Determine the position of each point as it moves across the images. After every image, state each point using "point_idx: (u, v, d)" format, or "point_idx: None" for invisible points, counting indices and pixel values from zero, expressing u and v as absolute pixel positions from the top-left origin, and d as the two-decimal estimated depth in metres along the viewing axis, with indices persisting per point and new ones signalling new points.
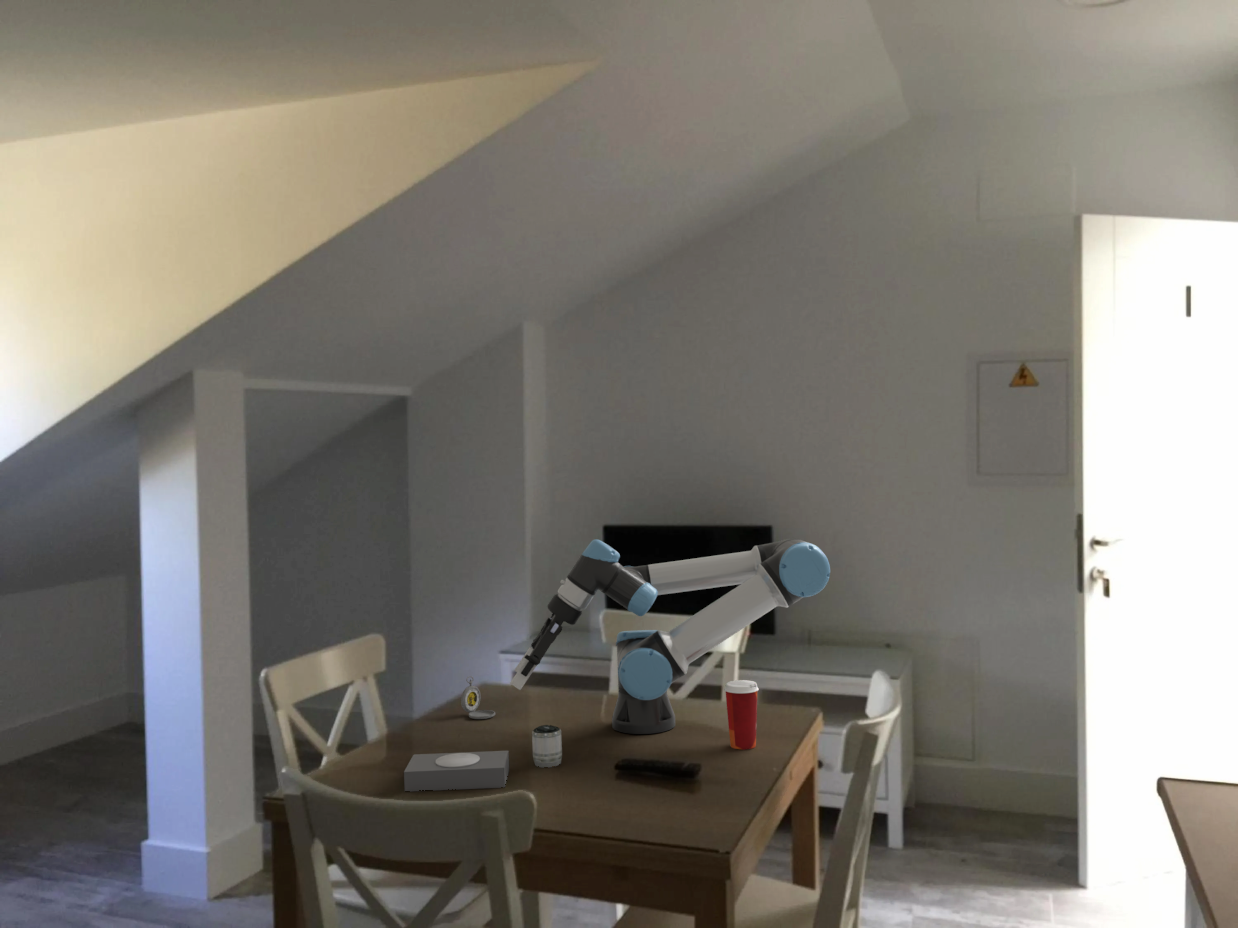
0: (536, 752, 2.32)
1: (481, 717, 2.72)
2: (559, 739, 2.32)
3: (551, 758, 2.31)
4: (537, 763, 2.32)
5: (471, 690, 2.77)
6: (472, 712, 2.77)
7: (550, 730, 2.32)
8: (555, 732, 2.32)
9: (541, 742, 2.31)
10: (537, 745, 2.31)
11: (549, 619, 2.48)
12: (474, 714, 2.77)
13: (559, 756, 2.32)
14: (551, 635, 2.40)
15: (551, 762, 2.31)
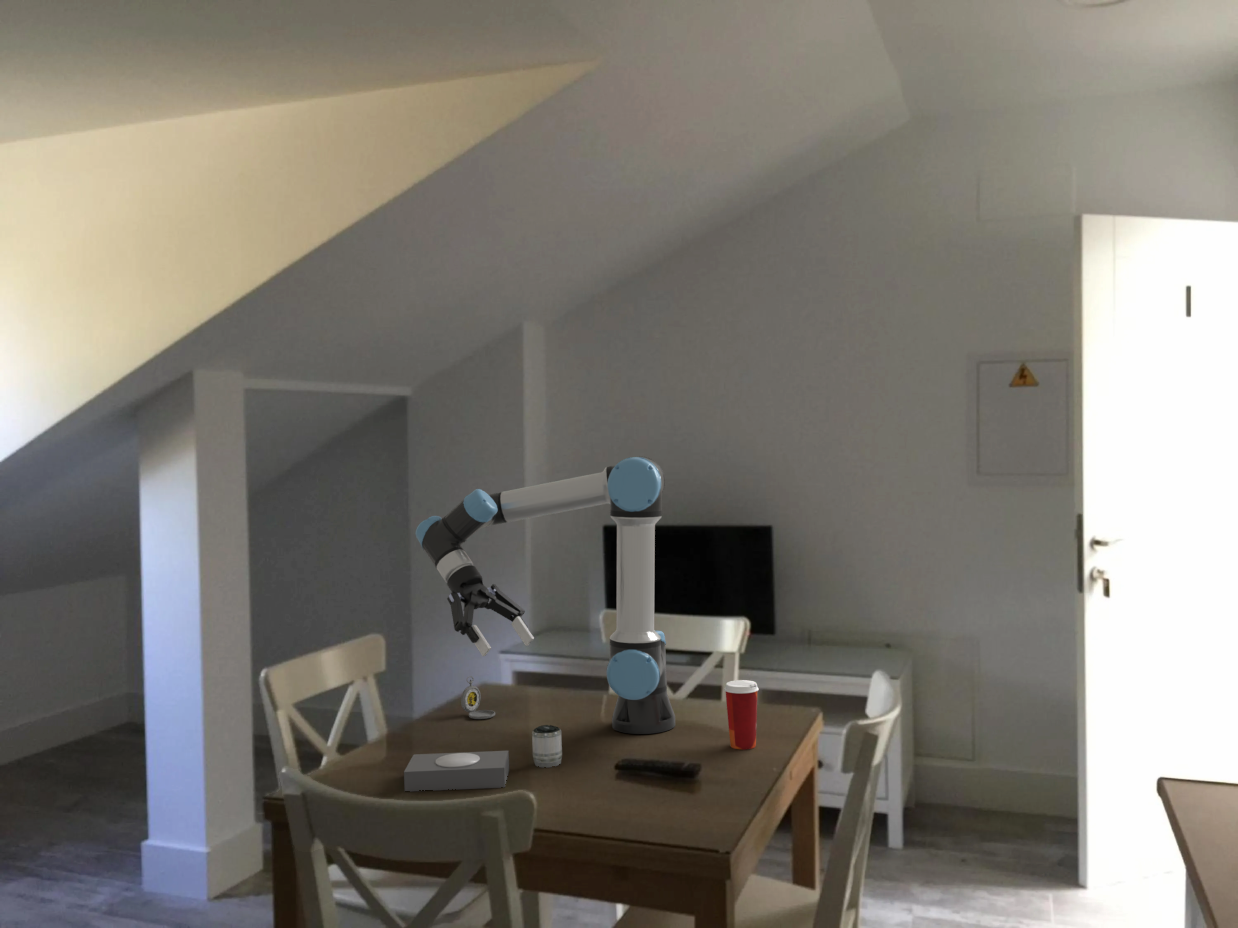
0: (536, 752, 2.32)
1: (481, 717, 2.72)
2: (559, 739, 2.32)
3: (551, 758, 2.31)
4: (537, 763, 2.32)
5: (471, 690, 2.77)
6: (472, 712, 2.77)
7: (550, 730, 2.32)
8: (555, 732, 2.32)
9: (541, 742, 2.31)
10: (537, 745, 2.31)
11: None
12: (474, 714, 2.77)
13: (559, 756, 2.32)
14: (454, 602, 2.40)
15: (551, 762, 2.31)
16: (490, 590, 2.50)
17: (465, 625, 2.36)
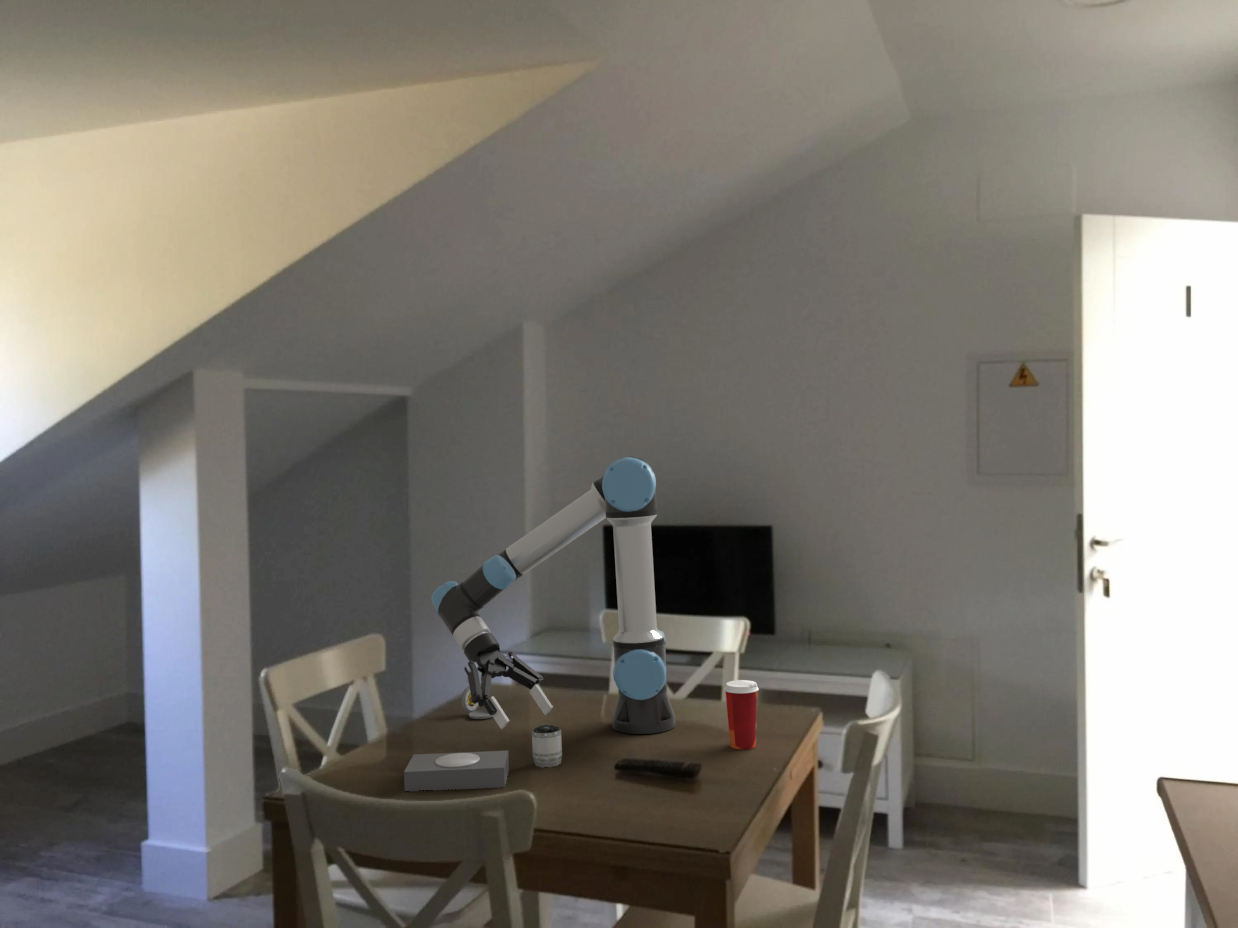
0: (536, 752, 2.32)
1: (481, 717, 2.72)
2: (559, 739, 2.32)
3: (551, 758, 2.31)
4: (537, 763, 2.32)
5: None
6: (472, 712, 2.77)
7: (550, 730, 2.32)
8: (555, 732, 2.32)
9: (541, 742, 2.31)
10: (537, 745, 2.31)
11: None
12: (474, 714, 2.77)
13: (559, 756, 2.32)
14: (471, 672, 2.36)
15: (551, 762, 2.31)
16: (507, 657, 2.46)
17: (483, 697, 2.32)
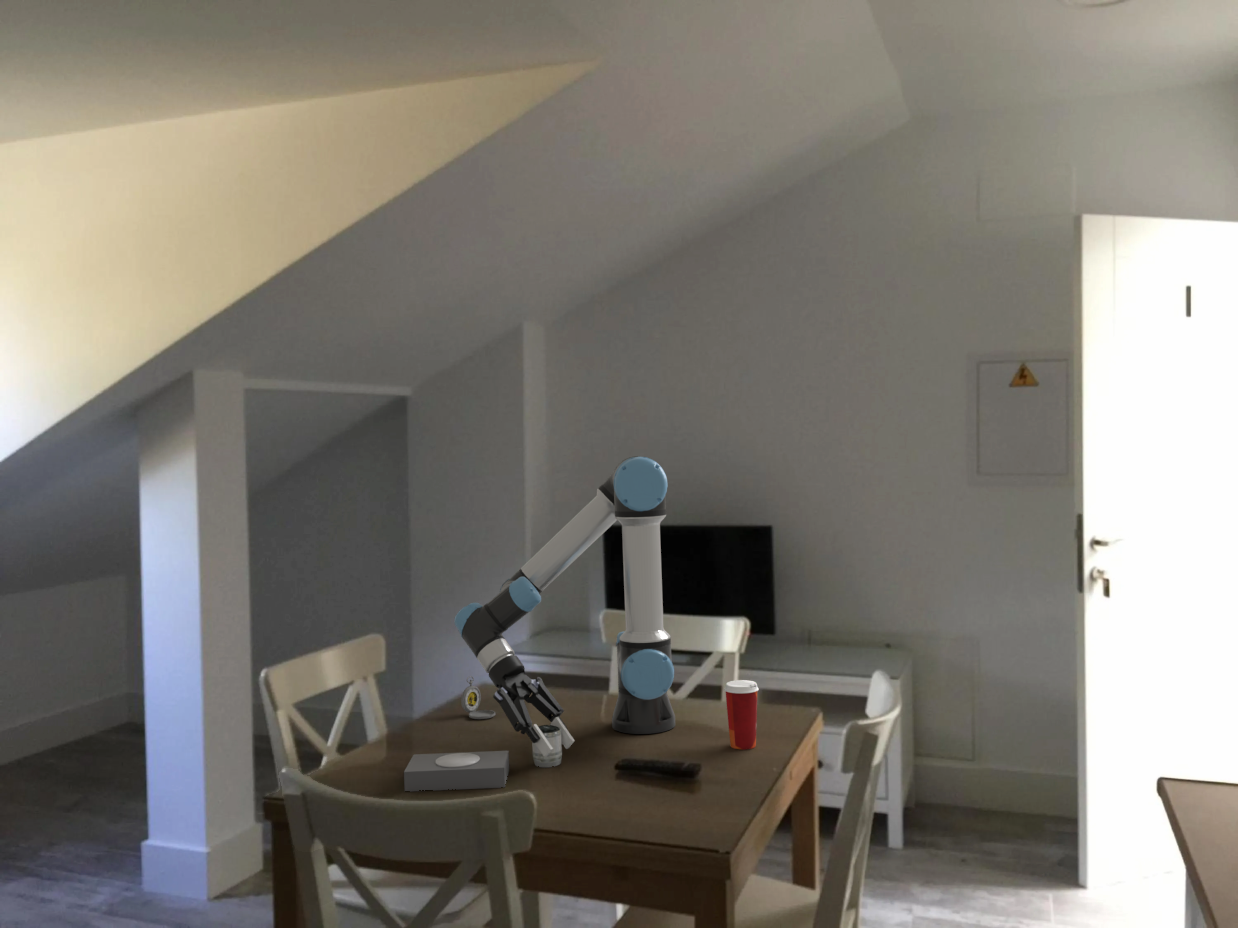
0: (536, 752, 2.32)
1: (481, 717, 2.72)
2: (559, 739, 2.32)
3: (551, 758, 2.31)
4: (537, 763, 2.32)
5: (471, 690, 2.77)
6: (472, 712, 2.77)
7: (550, 730, 2.32)
8: (555, 732, 2.32)
9: None
10: None
11: None
12: (474, 714, 2.77)
13: (559, 756, 2.32)
14: (503, 700, 2.33)
15: (551, 761, 2.31)
16: (534, 682, 2.42)
17: (526, 726, 2.30)
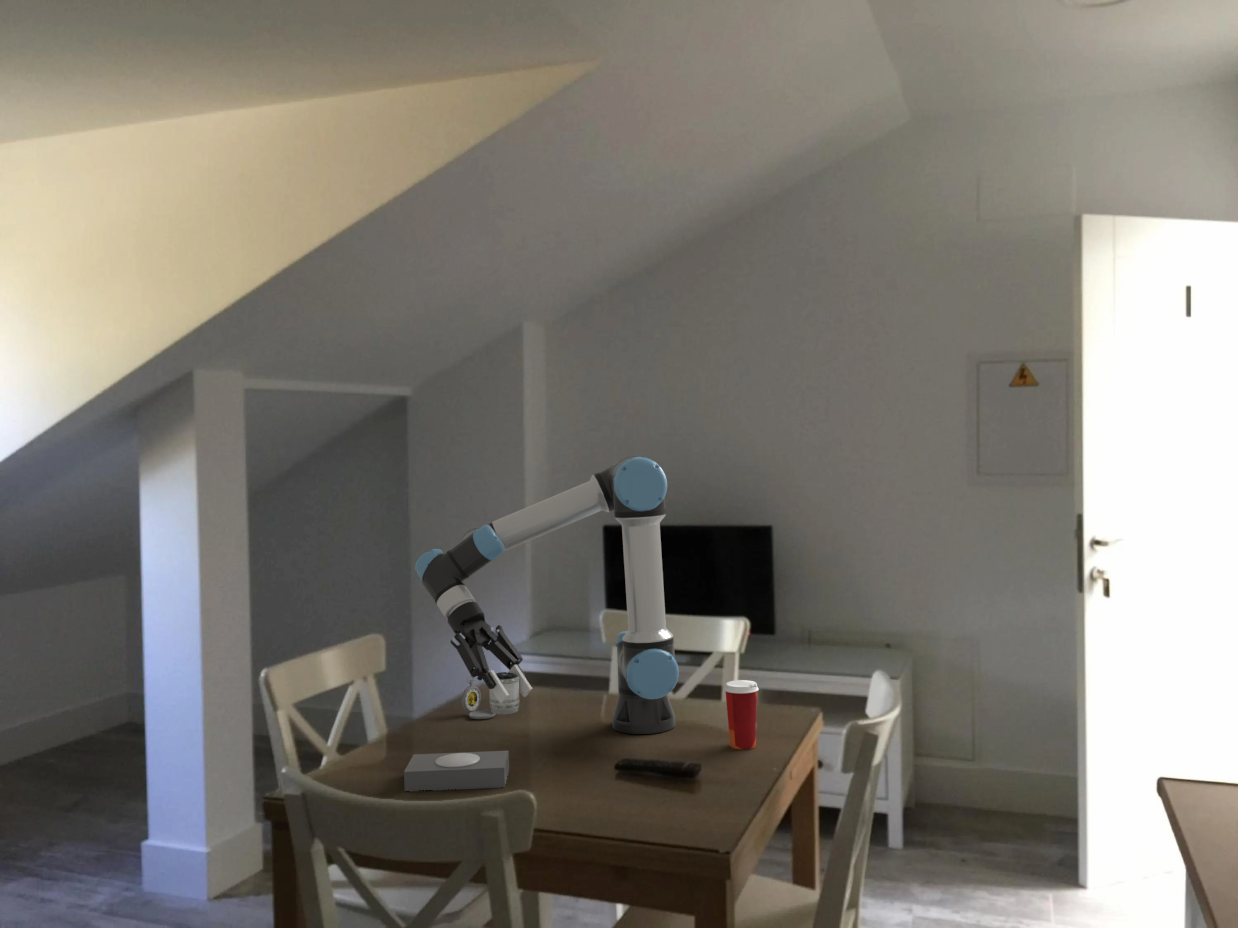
0: (493, 699, 2.28)
1: (481, 717, 2.72)
2: (516, 686, 2.29)
3: (507, 705, 2.27)
4: (493, 710, 2.28)
5: (471, 690, 2.77)
6: (472, 712, 2.77)
7: (507, 677, 2.28)
8: (512, 679, 2.28)
9: None
10: None
11: None
12: (474, 714, 2.77)
13: (516, 703, 2.29)
14: (461, 646, 2.29)
15: (508, 708, 2.27)
16: (493, 630, 2.38)
17: (483, 672, 2.26)
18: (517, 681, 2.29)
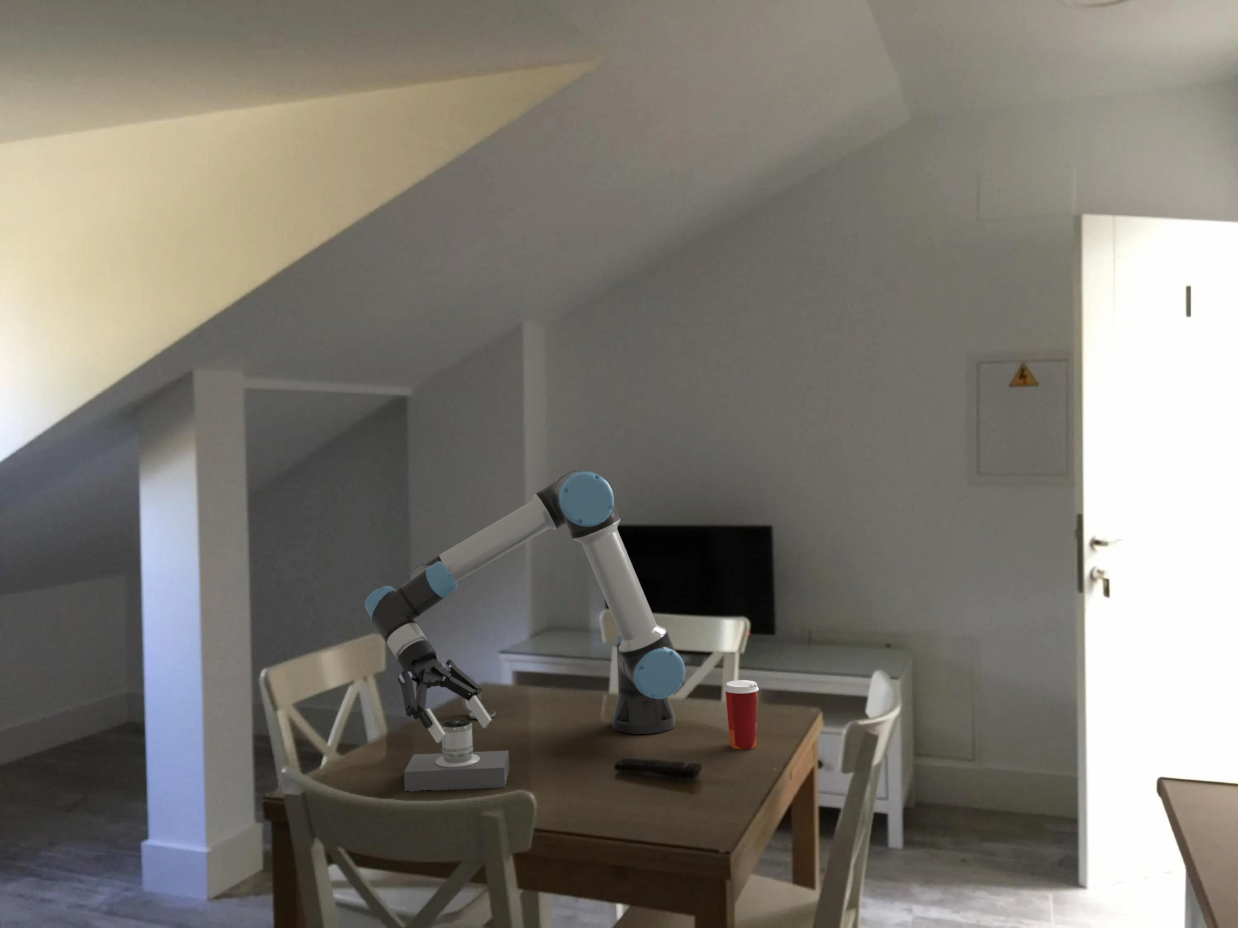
0: (445, 747, 2.22)
1: None
2: (469, 733, 2.23)
3: (460, 753, 2.21)
4: (446, 758, 2.22)
5: None
6: (472, 712, 2.77)
7: (459, 724, 2.22)
8: (465, 726, 2.22)
9: (450, 737, 2.21)
10: (446, 740, 2.22)
11: None
12: None
13: (469, 751, 2.23)
14: (404, 683, 2.23)
15: (461, 757, 2.22)
16: (445, 666, 2.33)
17: (417, 709, 2.19)
18: (470, 728, 2.23)
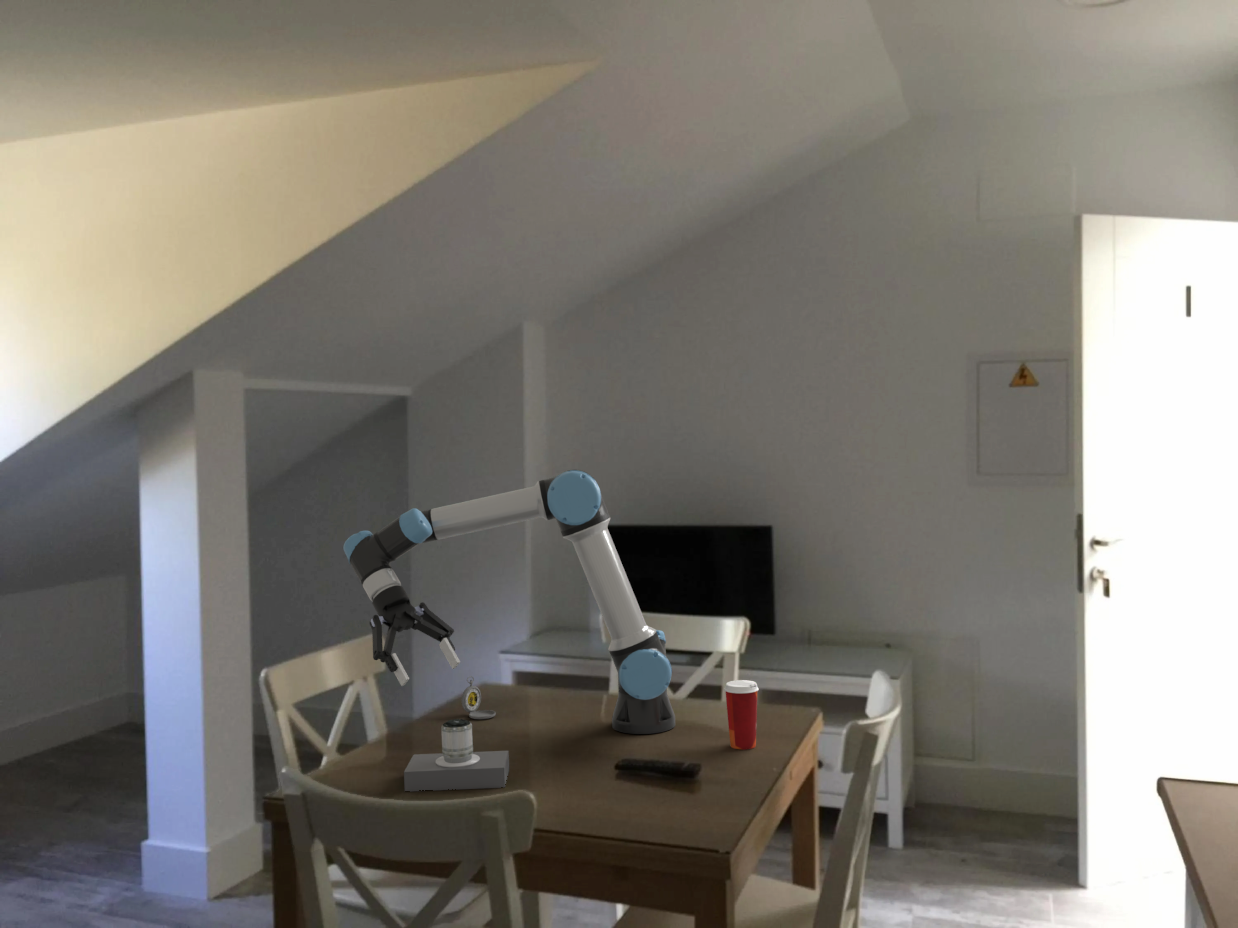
0: (445, 747, 2.22)
1: (482, 717, 2.72)
2: (469, 733, 2.23)
3: (460, 753, 2.21)
4: (446, 758, 2.22)
5: (472, 690, 2.77)
6: (473, 712, 2.77)
7: (459, 724, 2.22)
8: (465, 726, 2.22)
9: (450, 737, 2.21)
10: (446, 740, 2.22)
11: None
12: (475, 714, 2.77)
13: (469, 751, 2.23)
14: (374, 628, 2.34)
15: (461, 757, 2.22)
16: (418, 609, 2.43)
17: (383, 654, 2.30)
18: (470, 728, 2.23)
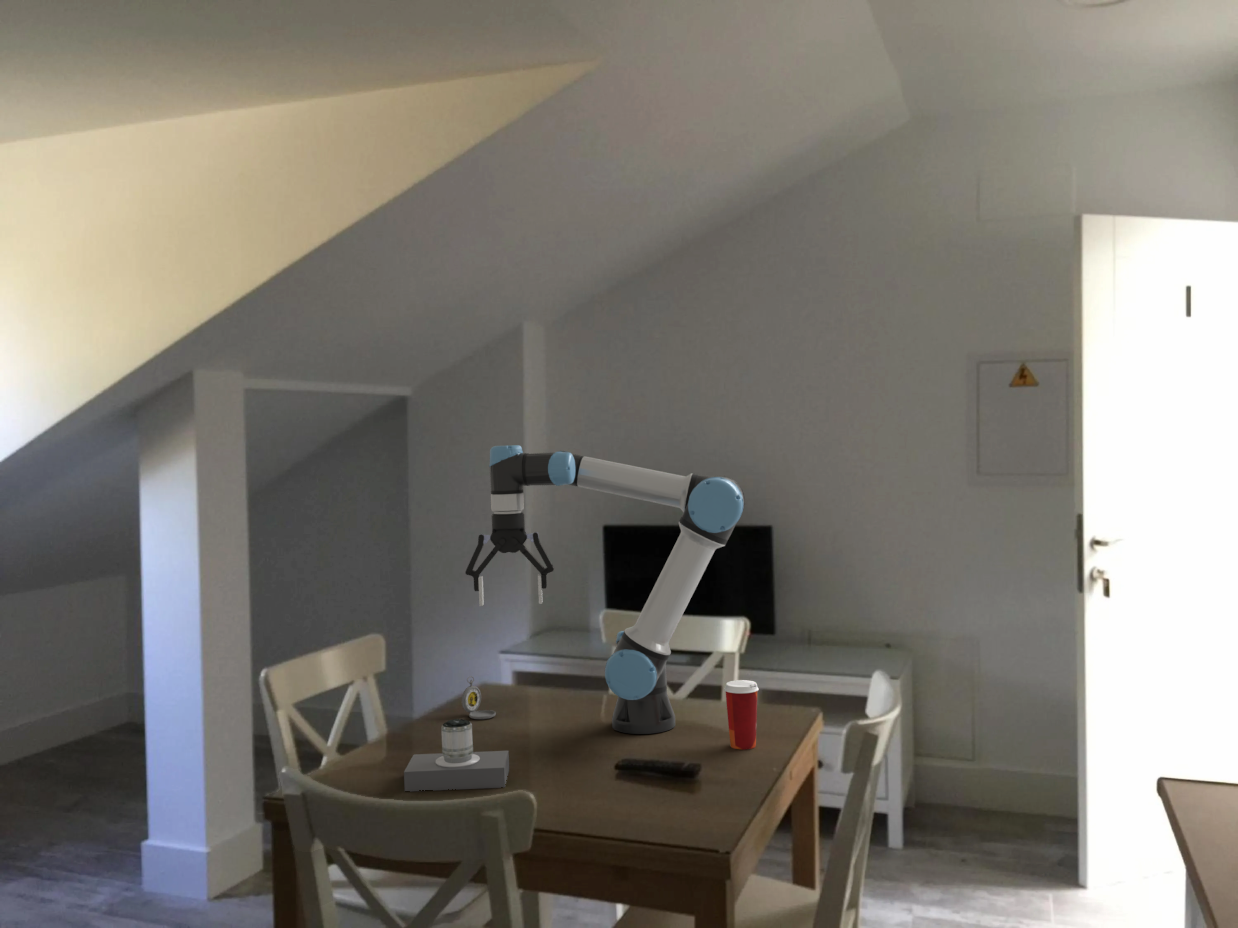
0: (445, 747, 2.22)
1: (482, 717, 2.72)
2: (469, 733, 2.23)
3: (460, 753, 2.21)
4: (446, 758, 2.22)
5: (472, 690, 2.77)
6: (473, 712, 2.77)
7: (459, 724, 2.22)
8: (465, 726, 2.22)
9: (450, 736, 2.21)
10: (446, 740, 2.22)
11: None
12: (475, 714, 2.77)
13: (469, 751, 2.23)
14: None
15: (461, 757, 2.22)
16: (530, 537, 2.51)
17: (472, 574, 2.51)
18: (470, 728, 2.23)
